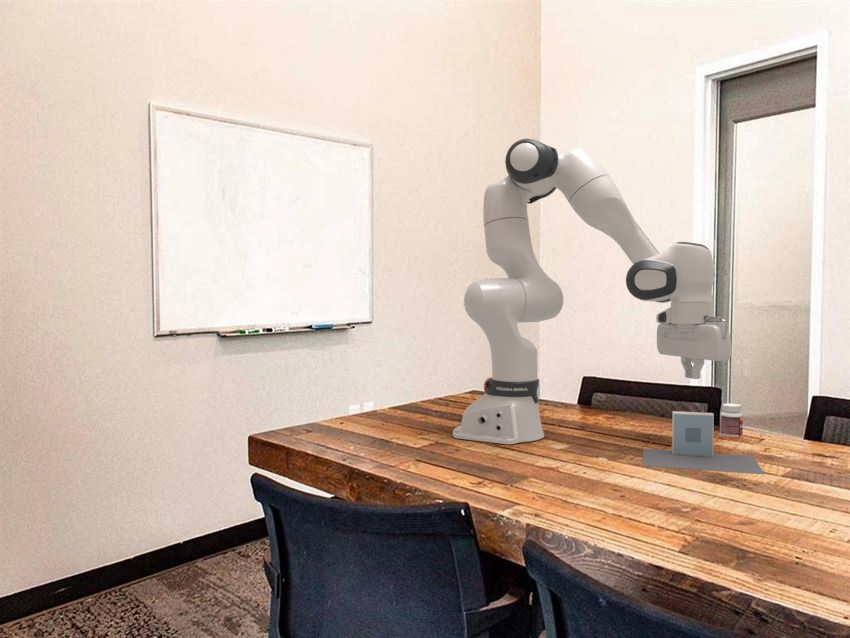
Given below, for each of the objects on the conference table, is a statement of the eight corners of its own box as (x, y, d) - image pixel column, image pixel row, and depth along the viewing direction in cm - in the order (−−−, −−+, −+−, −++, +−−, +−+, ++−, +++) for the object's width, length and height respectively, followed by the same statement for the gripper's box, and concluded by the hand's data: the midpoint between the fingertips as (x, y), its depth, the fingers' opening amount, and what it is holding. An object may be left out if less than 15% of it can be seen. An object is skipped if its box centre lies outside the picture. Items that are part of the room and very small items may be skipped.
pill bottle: (744, 442, 151) (745, 406, 150) (723, 441, 152) (723, 406, 151) (739, 437, 155) (739, 403, 155) (718, 436, 156) (718, 402, 156)
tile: (672, 454, 138) (673, 413, 138) (672, 452, 140) (672, 411, 140) (713, 457, 136) (713, 414, 135) (712, 454, 138) (712, 413, 137)
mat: (643, 468, 130) (643, 465, 130) (643, 451, 144) (643, 448, 144) (764, 477, 124) (764, 474, 124) (752, 458, 137) (752, 455, 137)
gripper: (739, 316, 133) (739, 383, 133) (674, 314, 153) (674, 372, 153) (713, 317, 131) (714, 384, 132) (651, 315, 151) (652, 374, 151)
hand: (692, 378), depth 142 cm, fingers closed
